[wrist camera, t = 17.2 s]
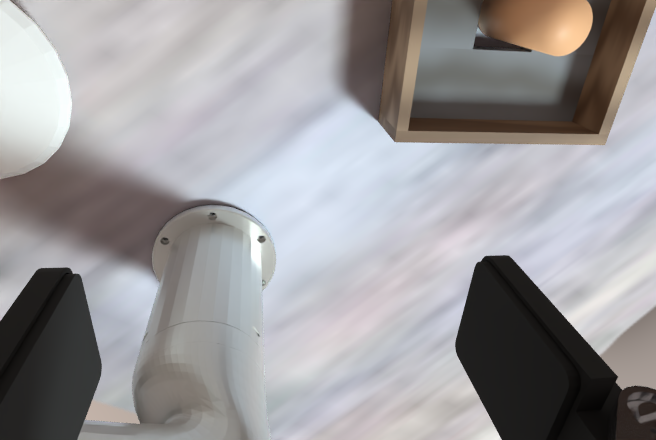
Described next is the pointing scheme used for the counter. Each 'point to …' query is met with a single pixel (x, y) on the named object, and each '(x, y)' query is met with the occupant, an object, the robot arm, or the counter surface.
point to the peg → (538, 23)
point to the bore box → (504, 77)
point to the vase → (29, 94)
